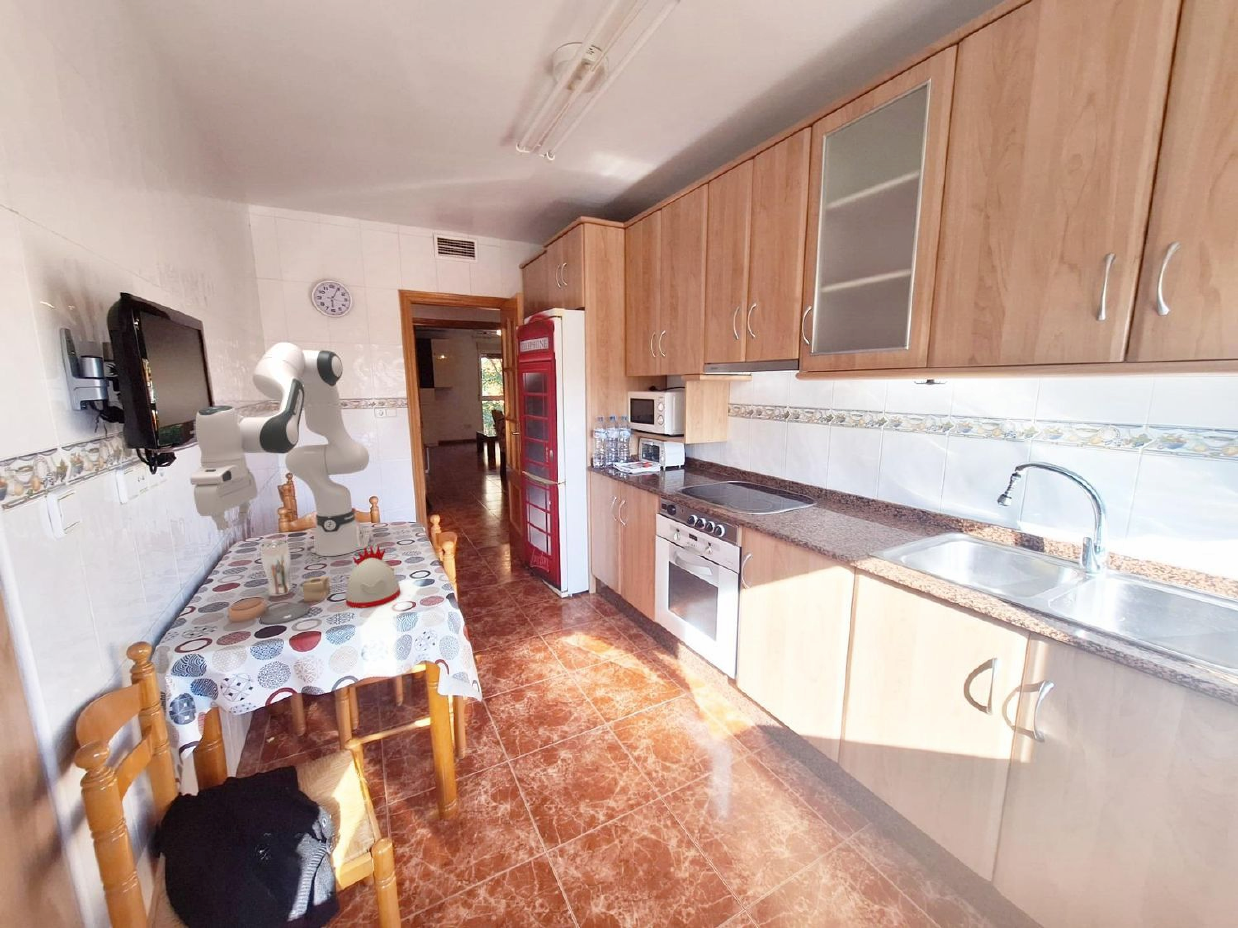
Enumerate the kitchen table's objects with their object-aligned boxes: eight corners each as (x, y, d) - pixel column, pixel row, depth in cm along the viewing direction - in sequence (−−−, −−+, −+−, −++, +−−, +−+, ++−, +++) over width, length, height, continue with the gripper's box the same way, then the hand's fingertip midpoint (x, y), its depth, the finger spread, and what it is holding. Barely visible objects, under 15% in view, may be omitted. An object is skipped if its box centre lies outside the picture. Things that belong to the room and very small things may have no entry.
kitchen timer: (402, 600, 138) (397, 549, 135) (346, 612, 131) (340, 559, 128) (397, 583, 149) (392, 536, 147) (345, 593, 143) (339, 544, 140)
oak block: (311, 594, 143) (309, 577, 142) (330, 592, 144) (328, 575, 143) (304, 601, 138) (302, 584, 137) (323, 599, 139) (321, 582, 138)
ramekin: (239, 610, 134) (237, 598, 133) (272, 607, 135) (270, 595, 135) (222, 624, 126) (220, 611, 125) (257, 620, 128) (255, 608, 127)
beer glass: (301, 588, 147) (294, 540, 144) (279, 598, 140) (272, 548, 138) (282, 586, 149) (276, 538, 146) (260, 595, 142) (253, 546, 140)
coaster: (273, 606, 135) (273, 604, 135) (317, 602, 137) (316, 600, 137) (252, 626, 124) (251, 624, 124) (300, 621, 126) (299, 619, 126)
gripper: (234, 464, 133) (242, 513, 136) (184, 479, 114) (194, 536, 116) (260, 463, 135) (267, 512, 137) (215, 478, 115) (225, 534, 117)
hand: (233, 523), depth 126 cm, fingers open, 8 cm apart
